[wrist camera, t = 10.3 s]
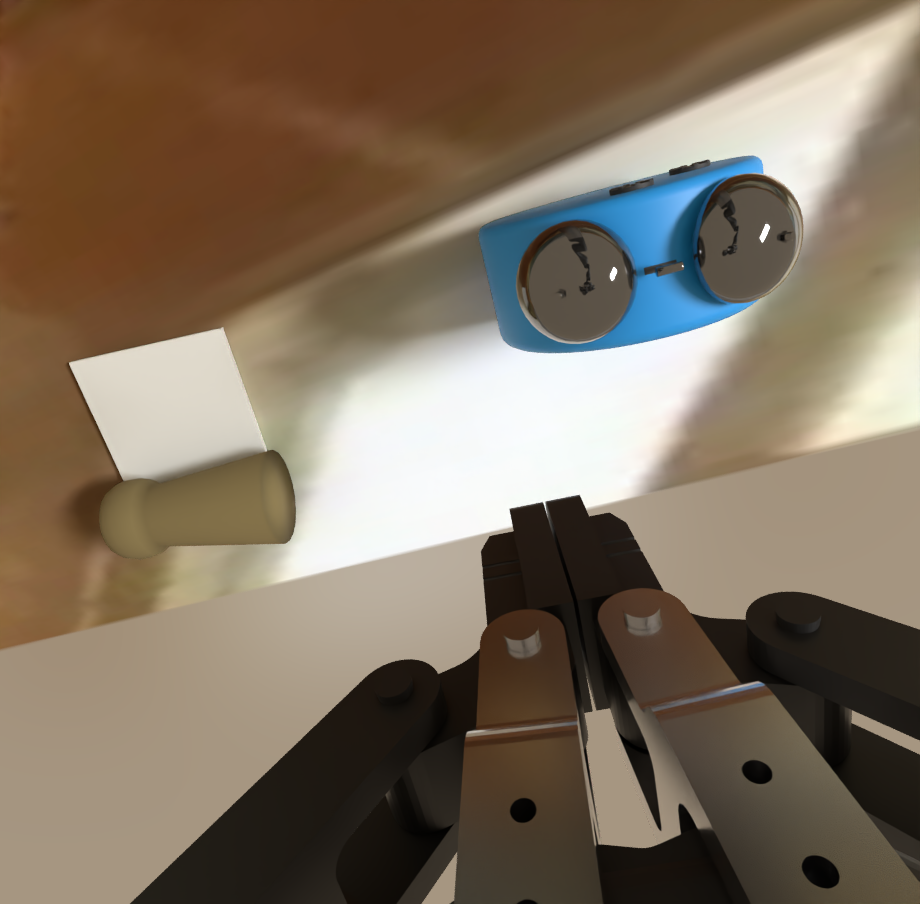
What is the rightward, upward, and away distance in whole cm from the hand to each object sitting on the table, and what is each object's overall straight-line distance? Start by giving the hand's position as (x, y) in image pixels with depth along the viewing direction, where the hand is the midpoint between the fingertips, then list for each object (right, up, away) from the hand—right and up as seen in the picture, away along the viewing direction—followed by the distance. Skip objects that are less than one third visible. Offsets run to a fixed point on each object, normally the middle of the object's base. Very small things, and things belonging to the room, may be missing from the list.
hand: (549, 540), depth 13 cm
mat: (-20, +3, +28) cm, 34 cm away
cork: (-13, -1, +26) cm, 29 cm away
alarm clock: (+6, +14, +24) cm, 28 cm away
